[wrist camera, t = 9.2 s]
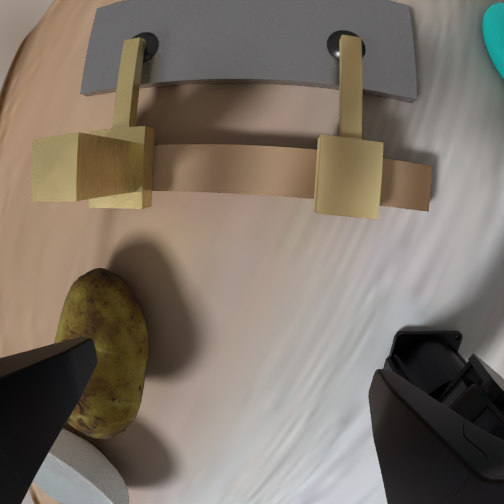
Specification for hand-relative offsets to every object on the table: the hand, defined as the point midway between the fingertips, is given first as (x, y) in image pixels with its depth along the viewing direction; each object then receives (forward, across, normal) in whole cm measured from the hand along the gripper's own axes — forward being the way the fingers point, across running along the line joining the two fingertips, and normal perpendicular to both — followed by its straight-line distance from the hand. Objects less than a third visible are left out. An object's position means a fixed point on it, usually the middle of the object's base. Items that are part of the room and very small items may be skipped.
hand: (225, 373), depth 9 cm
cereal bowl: (+13, +21, +28) cm, 37 cm away
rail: (+13, +2, -10) cm, 16 cm away
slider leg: (+12, +9, -10) cm, 18 cm away
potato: (+13, +11, +8) cm, 19 cm away
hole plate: (+13, +2, -16) cm, 21 cm away
